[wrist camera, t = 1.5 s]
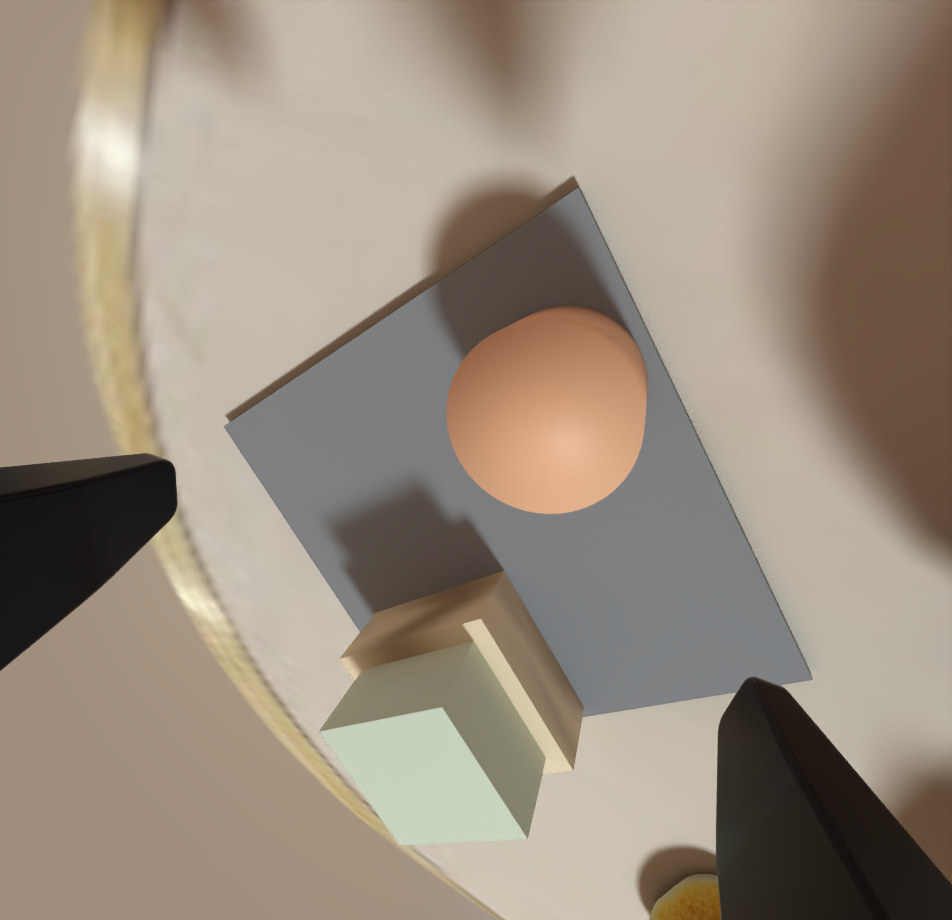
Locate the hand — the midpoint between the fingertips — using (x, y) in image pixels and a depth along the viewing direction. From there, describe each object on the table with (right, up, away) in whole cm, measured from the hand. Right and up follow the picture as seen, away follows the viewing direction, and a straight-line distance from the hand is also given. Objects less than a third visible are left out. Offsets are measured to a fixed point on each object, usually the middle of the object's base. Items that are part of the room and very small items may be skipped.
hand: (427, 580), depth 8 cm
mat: (+1, -1, +13) cm, 13 cm away
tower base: (+1, -7, +15) cm, 16 cm away
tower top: (0, -8, +12) cm, 15 cm away
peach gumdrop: (+4, +4, +9) cm, 11 cm away
